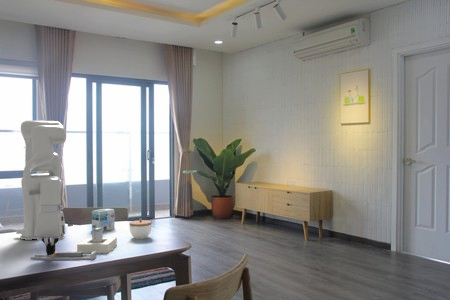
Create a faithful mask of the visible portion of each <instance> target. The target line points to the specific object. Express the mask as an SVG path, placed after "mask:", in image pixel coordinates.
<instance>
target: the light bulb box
mask: <svg viewBox="0 0 450 300" xmlns="http://www.w3.org/2000/svg"><path fill="white" fill-rule="evenodd" d="M115 211H116V210H115V209H114V208H101V209H95V210H91V229H92V228H97V227H101V228H103V231H109V230H113V229H115V226H116V225H115V221H116V220H115V219H116V217H115Z"/></svg>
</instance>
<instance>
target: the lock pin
mask: <svg viewBox="0 0 450 300" xmlns="http://www.w3.org/2000/svg"><path fill="white" fill-rule="evenodd" d="M83 255H84V253H83V252H77V251H55V252H54V253H53V256H54V257H83Z"/></svg>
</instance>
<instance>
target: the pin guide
mask: <svg viewBox="0 0 450 300" xmlns="http://www.w3.org/2000/svg"><path fill="white" fill-rule="evenodd" d="M96 258H97V253H96V251H94V252H92V253H90V254H83V257H54V256H53V255H47V254H35V255H34V256H31V257H30V260H31V259H38V260H37V261H41V260H42V259H43V261H45V260H46V261H48V260H49V261H51V260H53V261H54V260H55V261H56V260H57V261H58V260H59V261H60V260H61V261H62V260H63V261H65V260H67V261H68V260H71V261H72V260H74V261H76V260H78V261H80V260H82V261H83V260H89V261H90V260H91V261H92V260H94V259H96ZM39 259H40V260H39Z"/></svg>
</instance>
